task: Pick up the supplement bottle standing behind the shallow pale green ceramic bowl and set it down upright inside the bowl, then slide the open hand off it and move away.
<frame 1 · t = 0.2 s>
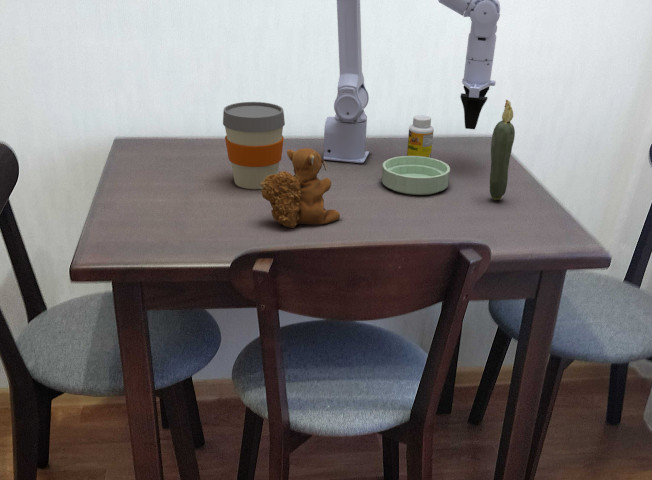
hand: (471, 123, 169), 10 cm above the table, tool pointing down, fingers open, 7 cm apart
vegetable: (493, 202, 158), on the table
stuffed squirrel: (298, 221, 146), on the table
supplement bottle: (418, 163, 177), on the table
reusable coffee cup: (255, 182, 163), on the table
bowl: (414, 184, 165), on the table
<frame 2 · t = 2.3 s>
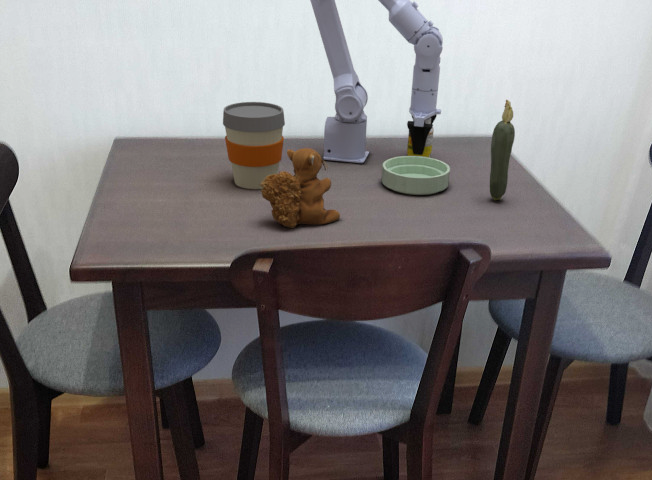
hand: (419, 150, 176), 3 cm above the table, tool pointing down, fingers closed on supplement bottle, 5 cm apart
supplement bottle: (418, 163, 177), on the table, touching gripper
everything else where it was.
when the fingers open (3 cm above the table, at t = 7.1 s): supplement bottle stays where it is, resting on bowl.
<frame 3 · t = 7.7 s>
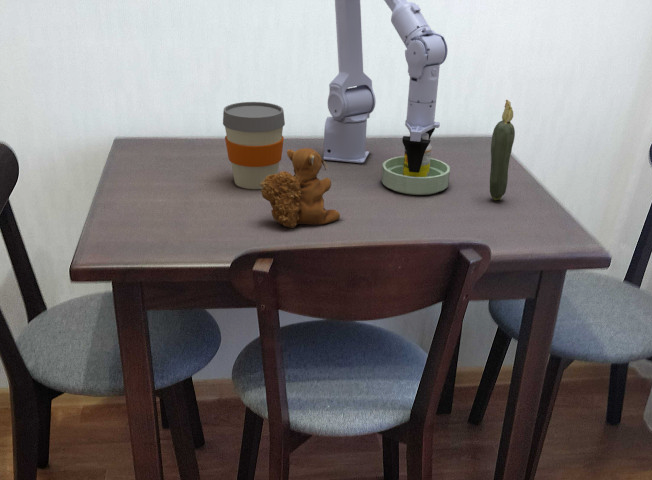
hand: (416, 165, 163), 4 cm above the table, tool pointing down, fingers open, 7 cm apart
supplement bottle: (415, 182, 165), resting on bowl
everything else where it was.
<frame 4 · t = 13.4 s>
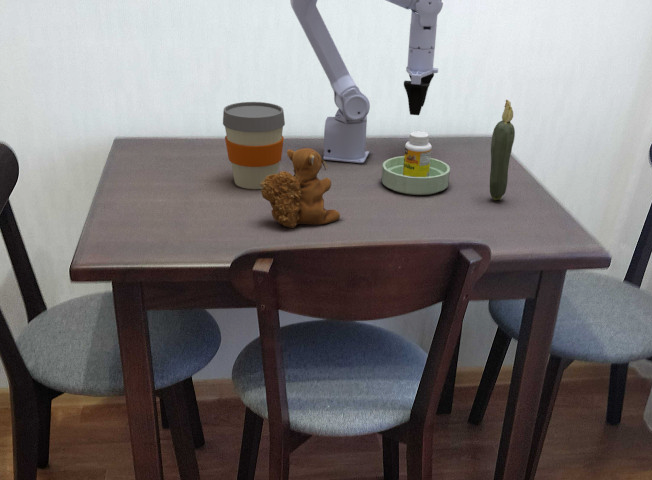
hand: (416, 110, 176), 10 cm above the table, tool pointing down, fingers open, 7 cm apart
nothing on the table moved.
at the end: supplement bottle inside the target area in the bowl (0.1 cm from its centre), point 0.4 cm above the bowl's base; supplement bottle tilted 0°; the gripper is holding nothing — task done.
